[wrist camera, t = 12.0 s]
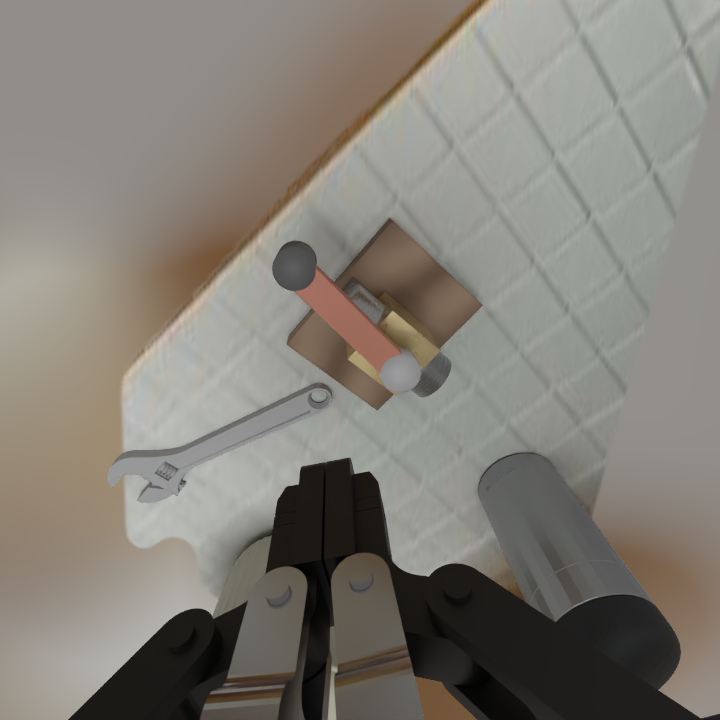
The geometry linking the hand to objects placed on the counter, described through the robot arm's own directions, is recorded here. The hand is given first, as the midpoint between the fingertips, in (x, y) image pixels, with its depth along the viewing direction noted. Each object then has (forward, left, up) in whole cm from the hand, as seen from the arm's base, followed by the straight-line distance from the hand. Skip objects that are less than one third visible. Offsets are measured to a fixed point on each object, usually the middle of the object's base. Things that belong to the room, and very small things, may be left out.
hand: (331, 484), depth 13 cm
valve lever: (-2, 0, -18) cm, 19 cm away
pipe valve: (-6, 0, -25) cm, 26 cm away
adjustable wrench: (-3, +21, -28) cm, 35 cm away
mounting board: (-6, 0, -28) cm, 28 cm away
